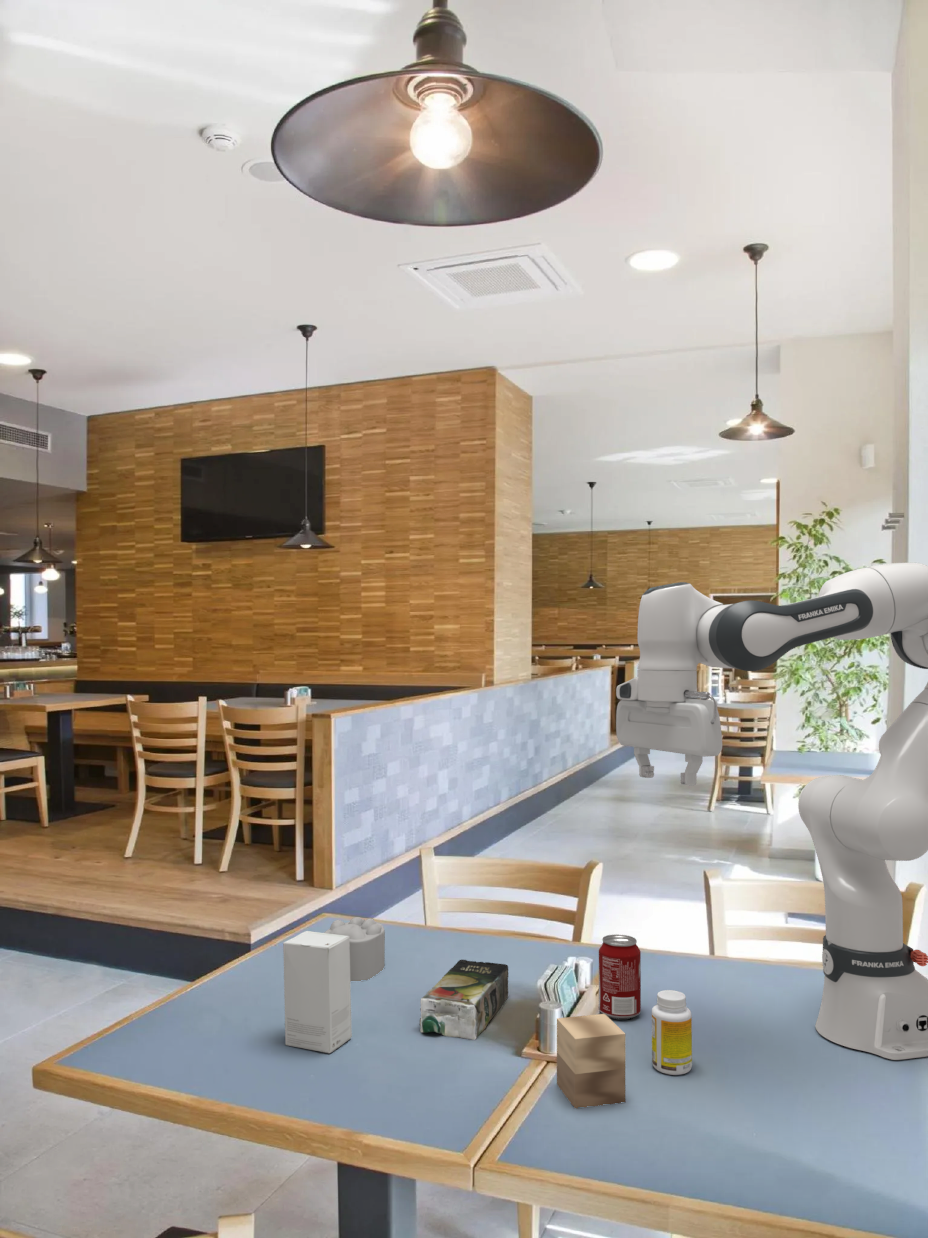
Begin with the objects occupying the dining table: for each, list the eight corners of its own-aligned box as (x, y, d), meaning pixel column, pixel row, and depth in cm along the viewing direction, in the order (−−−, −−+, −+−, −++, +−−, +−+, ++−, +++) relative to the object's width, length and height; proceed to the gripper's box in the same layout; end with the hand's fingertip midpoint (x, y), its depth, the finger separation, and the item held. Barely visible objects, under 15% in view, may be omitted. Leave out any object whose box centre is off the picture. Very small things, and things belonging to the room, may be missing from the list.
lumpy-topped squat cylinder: (314, 977, 170) (314, 928, 170) (346, 955, 182) (346, 910, 182) (366, 984, 166) (366, 934, 167) (395, 961, 179) (395, 915, 179)
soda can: (640, 1024, 149) (640, 947, 149) (597, 1020, 150) (597, 944, 151) (641, 1008, 155) (640, 934, 156) (599, 1005, 157) (599, 932, 157)
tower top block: (604, 1047, 130) (604, 1014, 130) (625, 1068, 123) (625, 1034, 123) (556, 1052, 128) (556, 1018, 128) (575, 1074, 121) (575, 1039, 121)
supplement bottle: (700, 1071, 132) (700, 997, 132) (671, 1080, 129) (671, 1005, 130) (672, 1056, 137) (671, 985, 137) (643, 1065, 134) (643, 992, 134)
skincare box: (352, 1039, 142) (353, 935, 143) (328, 1056, 136) (329, 948, 137) (306, 1030, 146) (307, 928, 146) (280, 1046, 140) (282, 940, 140)
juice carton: (477, 1044, 141) (476, 1003, 142) (415, 1037, 144) (415, 996, 144) (511, 999, 160) (510, 963, 161) (456, 993, 163) (456, 957, 164)
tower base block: (604, 1080, 130) (604, 1047, 130) (625, 1104, 123) (625, 1069, 123) (556, 1085, 128) (556, 1052, 128) (574, 1110, 121) (574, 1074, 121)
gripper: (732, 691, 135) (732, 788, 134) (640, 686, 153) (640, 772, 152) (699, 692, 132) (699, 791, 131) (609, 687, 150) (609, 774, 149)
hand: (667, 781), depth 142 cm, fingers open, 8 cm apart
